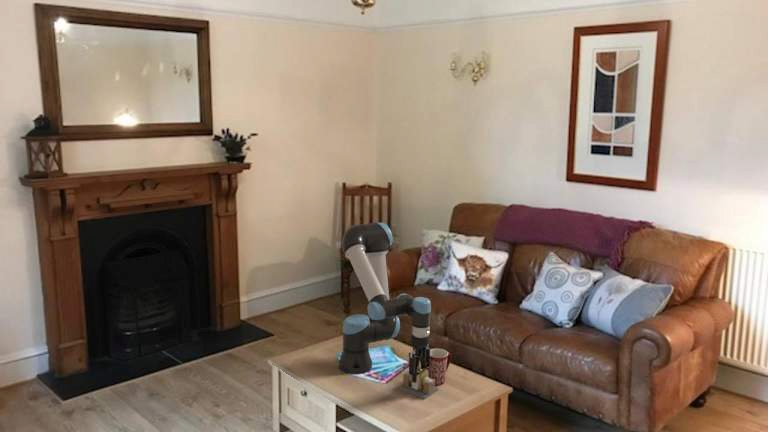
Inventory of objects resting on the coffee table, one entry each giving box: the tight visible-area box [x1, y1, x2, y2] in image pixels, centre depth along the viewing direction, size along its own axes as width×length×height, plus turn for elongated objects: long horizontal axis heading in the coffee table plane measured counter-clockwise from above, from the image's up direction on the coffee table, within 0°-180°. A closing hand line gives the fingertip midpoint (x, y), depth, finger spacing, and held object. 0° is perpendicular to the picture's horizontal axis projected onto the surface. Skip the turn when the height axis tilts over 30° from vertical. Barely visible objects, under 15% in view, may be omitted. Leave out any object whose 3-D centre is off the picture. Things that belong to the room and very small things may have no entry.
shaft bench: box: [398, 370, 439, 400], centre depth 269 cm, size 13×10×7 cm
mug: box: [427, 348, 452, 386], centre depth 277 cm, size 13×9×14 cm
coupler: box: [411, 366, 428, 391], centre depth 268 cm, size 5×4×8 cm
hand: (418, 386), depth 269 cm, fingers closed on coupler, 4 cm apart
